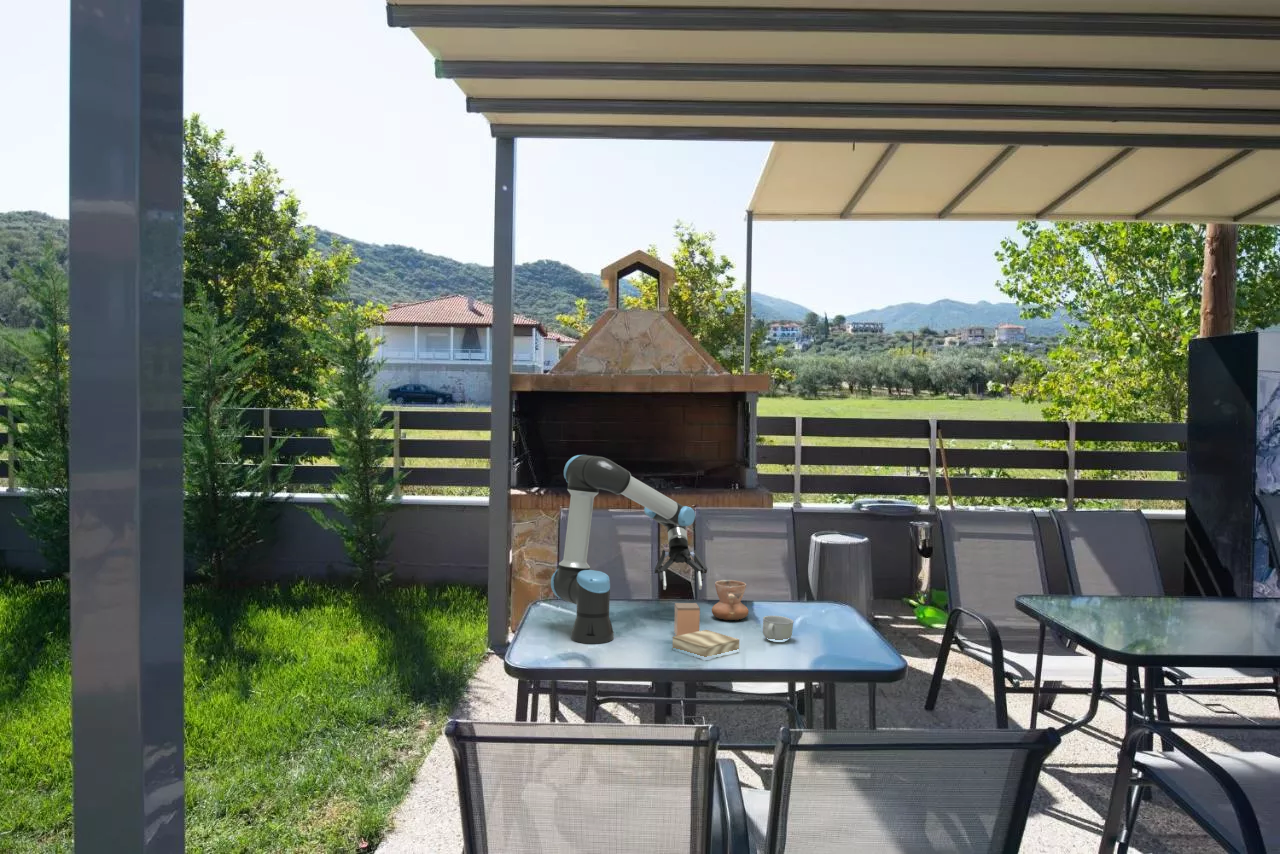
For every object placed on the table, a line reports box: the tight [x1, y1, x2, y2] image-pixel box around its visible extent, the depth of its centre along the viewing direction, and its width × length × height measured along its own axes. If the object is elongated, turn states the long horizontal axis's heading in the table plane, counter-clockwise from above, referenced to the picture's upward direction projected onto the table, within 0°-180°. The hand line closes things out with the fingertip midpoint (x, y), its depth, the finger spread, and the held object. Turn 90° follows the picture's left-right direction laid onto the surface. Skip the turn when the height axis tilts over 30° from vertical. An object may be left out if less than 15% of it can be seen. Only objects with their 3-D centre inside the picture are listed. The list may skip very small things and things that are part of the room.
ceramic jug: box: [711, 579, 749, 621], centre depth 346 cm, size 18×14×14 cm
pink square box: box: [673, 602, 701, 636], centre depth 318 cm, size 8×8×11 cm
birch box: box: [672, 629, 740, 657], centre depth 298 cm, size 16×16×5 cm
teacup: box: [762, 615, 794, 640], centre depth 312 cm, size 14×11×8 cm
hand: (682, 587), depth 330 cm, fingers open, 13 cm apart
